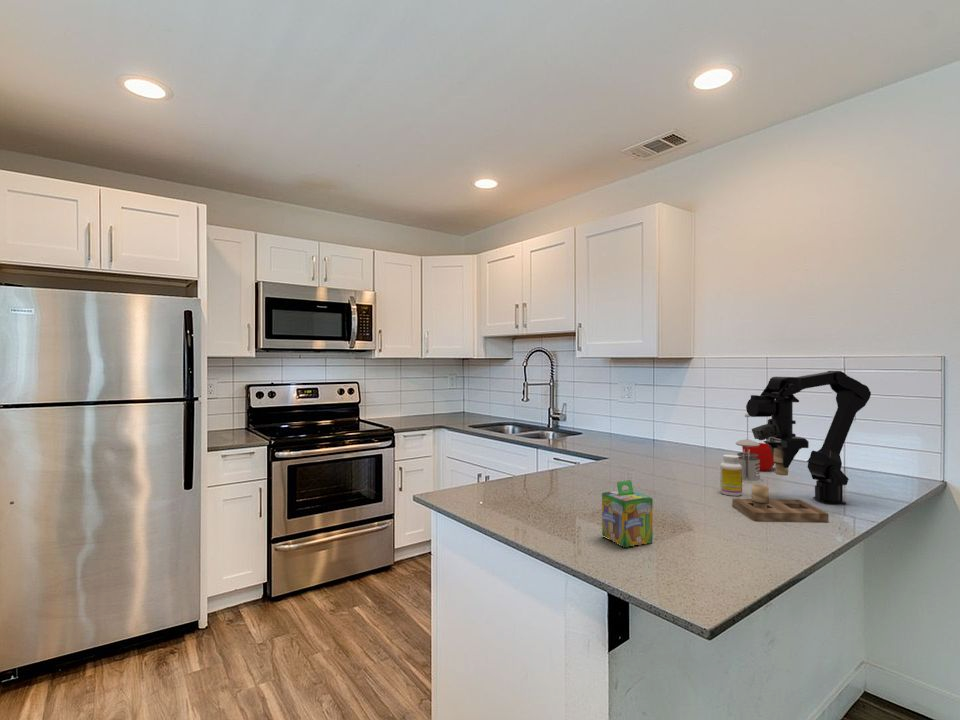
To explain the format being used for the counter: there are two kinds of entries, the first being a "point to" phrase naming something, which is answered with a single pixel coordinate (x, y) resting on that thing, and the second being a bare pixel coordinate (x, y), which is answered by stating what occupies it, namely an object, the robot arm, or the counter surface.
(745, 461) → the french press
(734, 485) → the supplement bottle
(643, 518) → the chalk box
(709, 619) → the counter surface
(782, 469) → the oak leg
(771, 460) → the ceramic cup
